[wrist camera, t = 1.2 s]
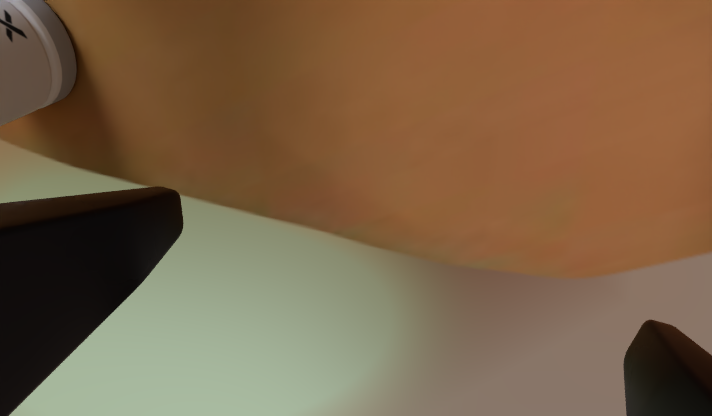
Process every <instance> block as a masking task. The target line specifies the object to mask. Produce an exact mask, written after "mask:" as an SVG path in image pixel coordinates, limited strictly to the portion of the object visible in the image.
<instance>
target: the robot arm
mask: <svg viewBox="0 0 712 416" xmlns="http://www.w3.org/2000/svg"><path fill="white" fill-rule="evenodd" d="M182 229H183V216H182V207H181V199H180V195H179V193H178V192H177V191H175V190H172V189H169V188H165V187H148V188H139V189H131V190H121V191H111V192H102V193H93V194H84V195H75V196H65V197H57V198H46V199H37V200H28V201H19V202H9V203H1V204H0V416H9V415H10V414H11V413H12V412H13V411H14V410H15V409H16V408H17V407H18V406H19V405H20V404H21V403H22V402H23V401H24V400H25V399H26V398H27V397H28V396H29V395H30V394H31V393H32V392H33V391H34V390H35V389H36V388H37V387H38V386H39V385H40V384H41V383H42V382H43V381H44V380H45V379H46V378H47V377H48V376H49V375H50V374H51V373H52V372H53V371H54V370H55V369H56V368H57V367H58V366H59V365H60V364H61V363H62V362H63V361H64V360H65V359H66V358H67V357H68V356H69V355H70V354H71V353H72V352H73V351H74V350H75V349H76V348H77V347H78V346H79V345H80V344H81V343H82V342H83V341H84V340H85V339H86V338H87V337H88V336H89V335H90V334H91V333H92V332H93V331H94V330H95V329H96V328H97V327H98V326H99V325H100V324H101V323H102V322H103V321H104V320H105V319H106V318H107V317H108V316H109V315H110V314H111V313H112V312H113V311H114V310H115V309H116V308H117V307H118V306H119V305H120V304H121V303H122V302H123V301H124V300H126V299H127V297H129V296H130V295H131V293H133V292H134V290H135V289H136V288H137V287H138V286H139V285H140V284H141V283H142V282H143V281H144V280H145V278H146V277H147V276H148V275H149V274H150V273H151V271H152V270H153V269H154V268H155V266H156V265H157V264H158V263H159V261H160V260H161V259H162V258H163V256H164V255H165V254H166V253H167V251H168V250H169V249H170V248H171V246H172V245H173V244H174V243H175V241H176V240H177V239H178V238H179V236H180V234H181V232H182ZM624 380H625V397H626V411H627V416H712V356H711V355H710V354H709V353H708V352H706V351H705V350H704V349H703V348H701V347H700V346H699V345H698V344H696V343H695V342H694V341H692V340H691V339H690V338H689V337H687V336H686V335H685V334H683V333H682V332H681V331H679V330H678V329H677V328H676V327H674V326H672V325H669V324H665V323H662V322H658V321H654V320H648V321H646V322H645V323H644V324H643V325H642V326H641V328H640V330H639V331H638V333H637V335H636V337H635V338H634V340H633V341H632V343H631V345H630V346H629V348H628V350H627V352H626V355H625V358H624Z"/></svg>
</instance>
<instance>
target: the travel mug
mask: <svg viewBox="0 0 712 416" xmlns="http://www.w3.org/2000/svg"><path fill="white" fill-rule="evenodd" d="M76 73H77V70H76V58H75V53H74V49H73V46H72V43H71V41H70V38H69V36H68V34H67V32H66V30H65V28H64V26H63V24H62V23H61V21H60V20H59V18H58V17H57V15H56V14H55V13H54V12H53V11H52V9H51V8H50V7H49V6H48V5H47V4H46V3H45V2H44V1H43V0H0V126H2V125H4V124H6V123H9V122H11V121H13V120H16V119H18V118H20V117H23V116H25V115H27V114H30V113H32V112H34V111H36V110H38V109H40V108H44V107H46V106H48V105H51V104H53V103H55V102H58V101H60V100H61V99H63V98H65V97H66V96H67V95H68V94H69V93H70V92H71V90H72V88H73V85H74V83H75V79H76Z"/></svg>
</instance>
